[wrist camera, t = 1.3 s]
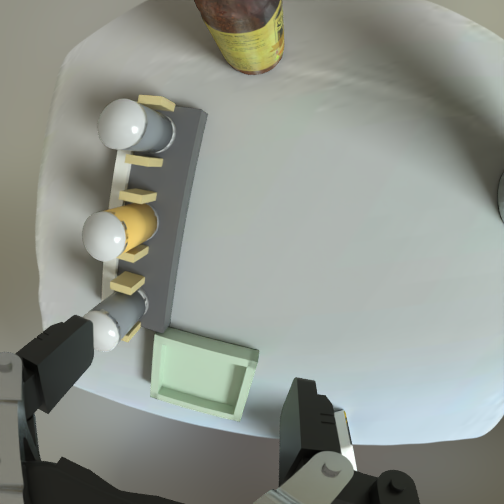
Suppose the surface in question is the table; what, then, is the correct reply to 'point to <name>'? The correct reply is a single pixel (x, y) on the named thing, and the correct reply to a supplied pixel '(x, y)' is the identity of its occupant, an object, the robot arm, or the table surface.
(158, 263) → the fuse block
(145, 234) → the cylinder
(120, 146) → the dome-capped grey cylinder
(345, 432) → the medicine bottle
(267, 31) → the sauce bottle
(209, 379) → the tray
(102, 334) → the cylinder
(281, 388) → the table surface
